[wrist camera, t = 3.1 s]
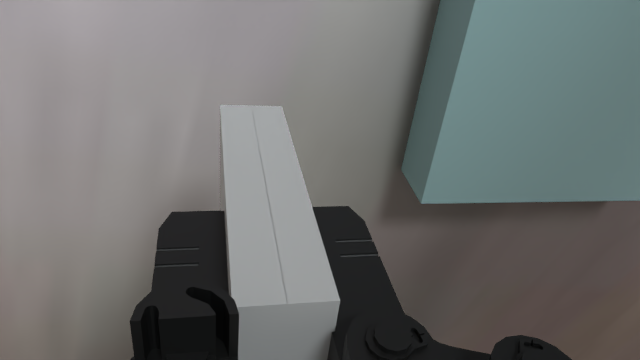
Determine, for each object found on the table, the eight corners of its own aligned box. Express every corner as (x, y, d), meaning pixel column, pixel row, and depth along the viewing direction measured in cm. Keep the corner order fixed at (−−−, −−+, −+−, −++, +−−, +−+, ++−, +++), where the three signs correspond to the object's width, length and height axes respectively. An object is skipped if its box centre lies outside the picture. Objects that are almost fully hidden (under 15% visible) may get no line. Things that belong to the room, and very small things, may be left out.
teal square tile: (454, -86, 17) (494, -73, 15) (737, -53, 20) (811, -38, 17) (398, 164, 23) (420, 203, 20) (626, 165, 25) (671, 200, 23)
